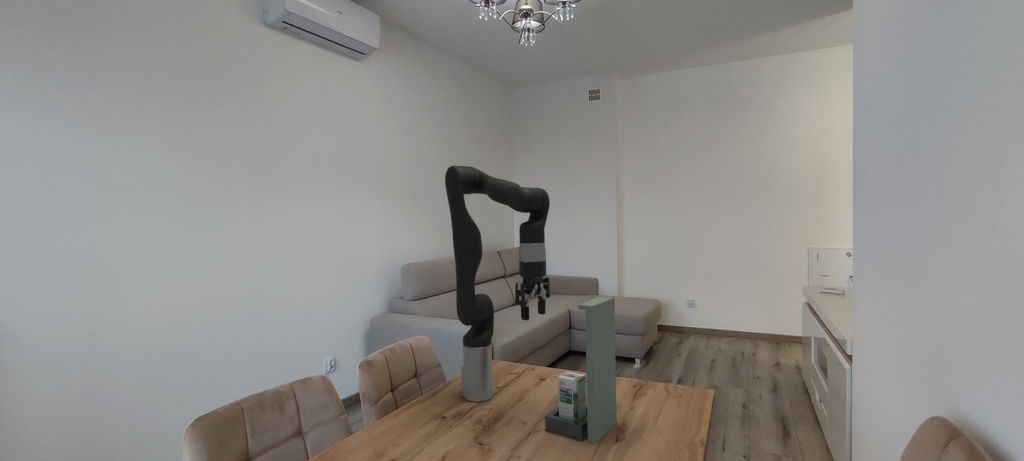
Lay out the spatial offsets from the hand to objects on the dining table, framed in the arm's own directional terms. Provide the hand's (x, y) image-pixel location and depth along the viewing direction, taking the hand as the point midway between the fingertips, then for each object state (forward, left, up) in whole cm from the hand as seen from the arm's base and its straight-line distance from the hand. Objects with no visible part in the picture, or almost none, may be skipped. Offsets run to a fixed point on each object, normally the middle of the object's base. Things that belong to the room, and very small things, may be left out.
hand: (533, 316), depth 127 cm
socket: (+10, +3, -30) cm, 32 cm away
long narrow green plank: (+18, +5, -30) cm, 35 cm away
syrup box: (+10, +3, -30) cm, 32 cm away
